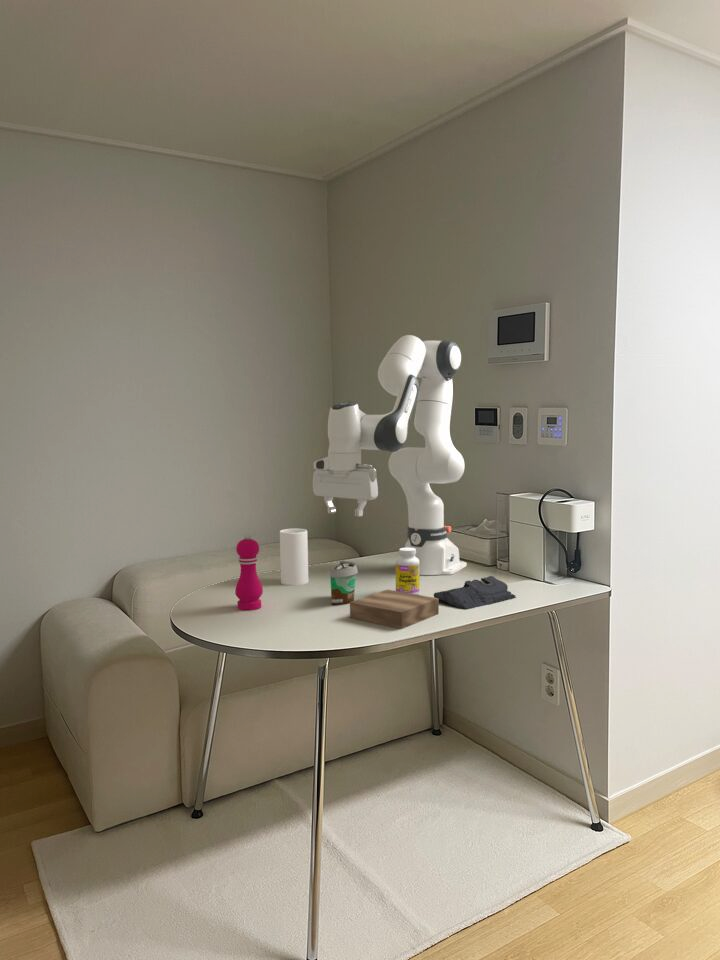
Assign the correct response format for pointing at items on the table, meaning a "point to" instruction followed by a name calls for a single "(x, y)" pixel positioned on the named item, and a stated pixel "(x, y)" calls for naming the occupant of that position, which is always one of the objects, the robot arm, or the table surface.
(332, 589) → the food container
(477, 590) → the folded dark cloth
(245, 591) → the pepper mill
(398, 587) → the supplement bottle
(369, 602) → the walnut base
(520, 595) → the table surface
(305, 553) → the cup
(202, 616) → the table surface
